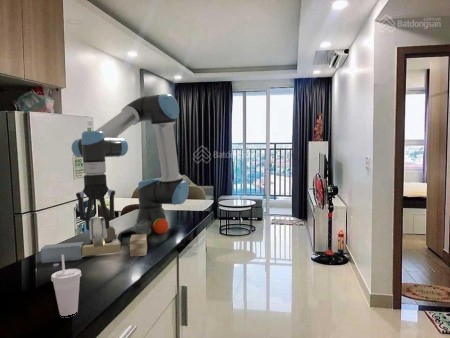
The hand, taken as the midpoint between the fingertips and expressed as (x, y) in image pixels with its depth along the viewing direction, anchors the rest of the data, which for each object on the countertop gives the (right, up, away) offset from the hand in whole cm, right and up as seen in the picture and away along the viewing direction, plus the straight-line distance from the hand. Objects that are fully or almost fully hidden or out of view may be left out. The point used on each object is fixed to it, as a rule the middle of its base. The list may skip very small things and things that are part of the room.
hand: (98, 237), depth 122 cm
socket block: (+14, -6, +3) cm, 15 cm away
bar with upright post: (-4, -6, 0) cm, 7 cm away
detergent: (+9, -5, +24) cm, 26 cm away
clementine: (+17, -5, +30) cm, 35 cm away
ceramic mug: (-5, -6, +21) cm, 23 cm away
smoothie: (+9, -9, -43) cm, 45 cm away
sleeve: (-12, -7, -2) cm, 14 cm away
